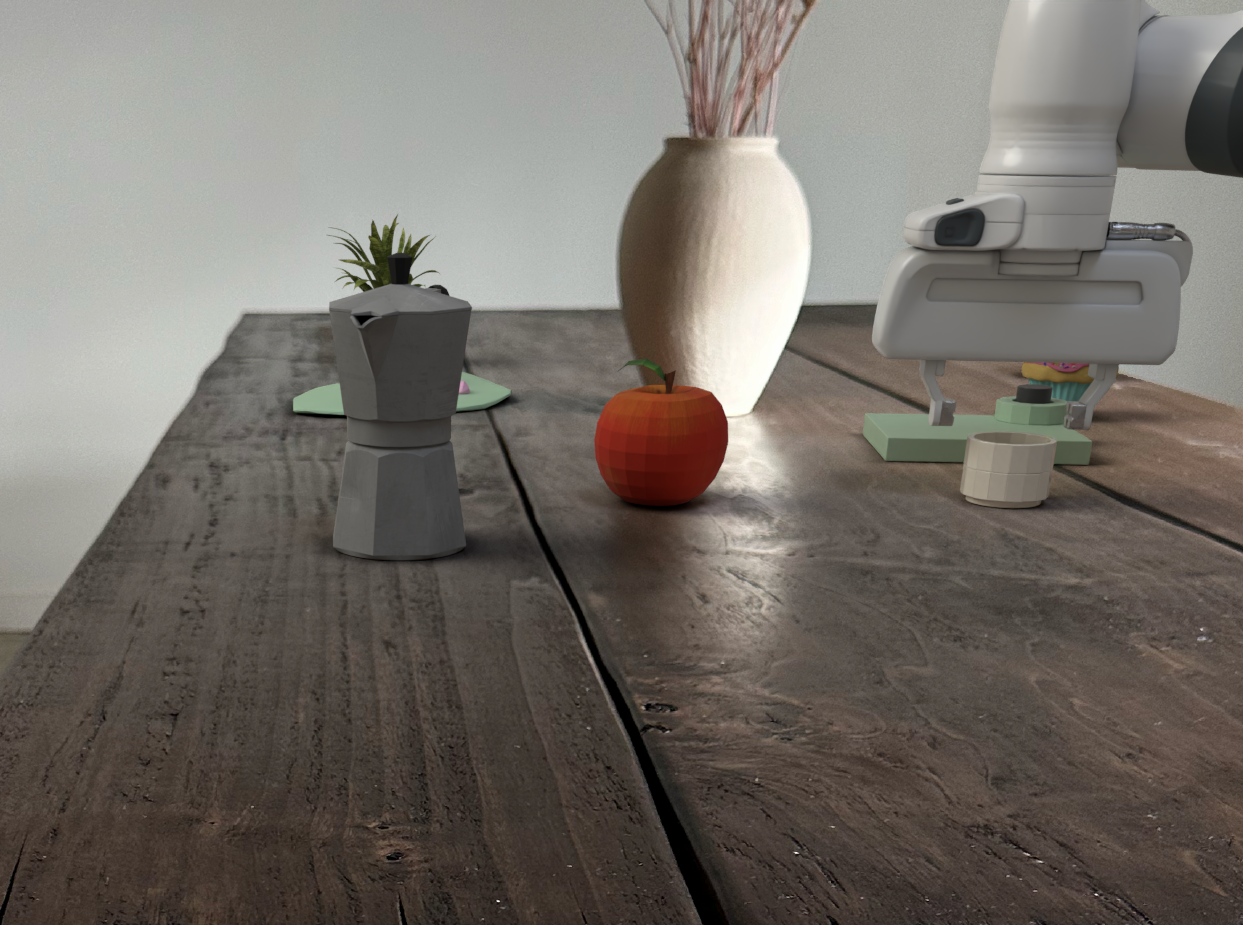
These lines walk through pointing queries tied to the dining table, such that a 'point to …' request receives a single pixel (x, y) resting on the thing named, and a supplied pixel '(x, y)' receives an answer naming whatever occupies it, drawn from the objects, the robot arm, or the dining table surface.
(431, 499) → the coffeepot
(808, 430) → the dining table surface
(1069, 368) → the cupcake
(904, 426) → the scale
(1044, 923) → the dining table surface
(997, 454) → the bowl
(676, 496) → the fruit
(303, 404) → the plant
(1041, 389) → the button
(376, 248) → the house plant
